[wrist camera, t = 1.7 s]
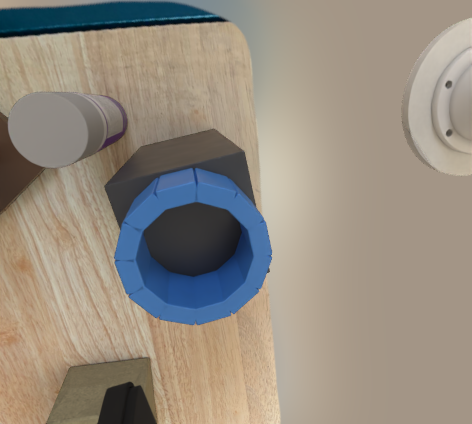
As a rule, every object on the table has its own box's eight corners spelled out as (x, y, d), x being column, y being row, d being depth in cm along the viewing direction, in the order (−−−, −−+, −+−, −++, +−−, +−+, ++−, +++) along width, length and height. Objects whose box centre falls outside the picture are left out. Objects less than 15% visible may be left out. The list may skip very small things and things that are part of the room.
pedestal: (214, 128, 36) (244, 150, 19) (231, 198, 39) (270, 272, 22) (140, 146, 35) (103, 185, 19) (162, 216, 38) (147, 306, 21)
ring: (194, 140, 19) (196, 149, 15) (280, 231, 21) (299, 255, 18) (98, 234, 19) (81, 261, 16) (193, 310, 22) (195, 349, 18)
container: (88, 147, 35) (24, 178, 21) (72, 100, 33) (-10, 98, 19) (133, 138, 35) (101, 161, 21) (119, 90, 34) (74, 81, 19)
